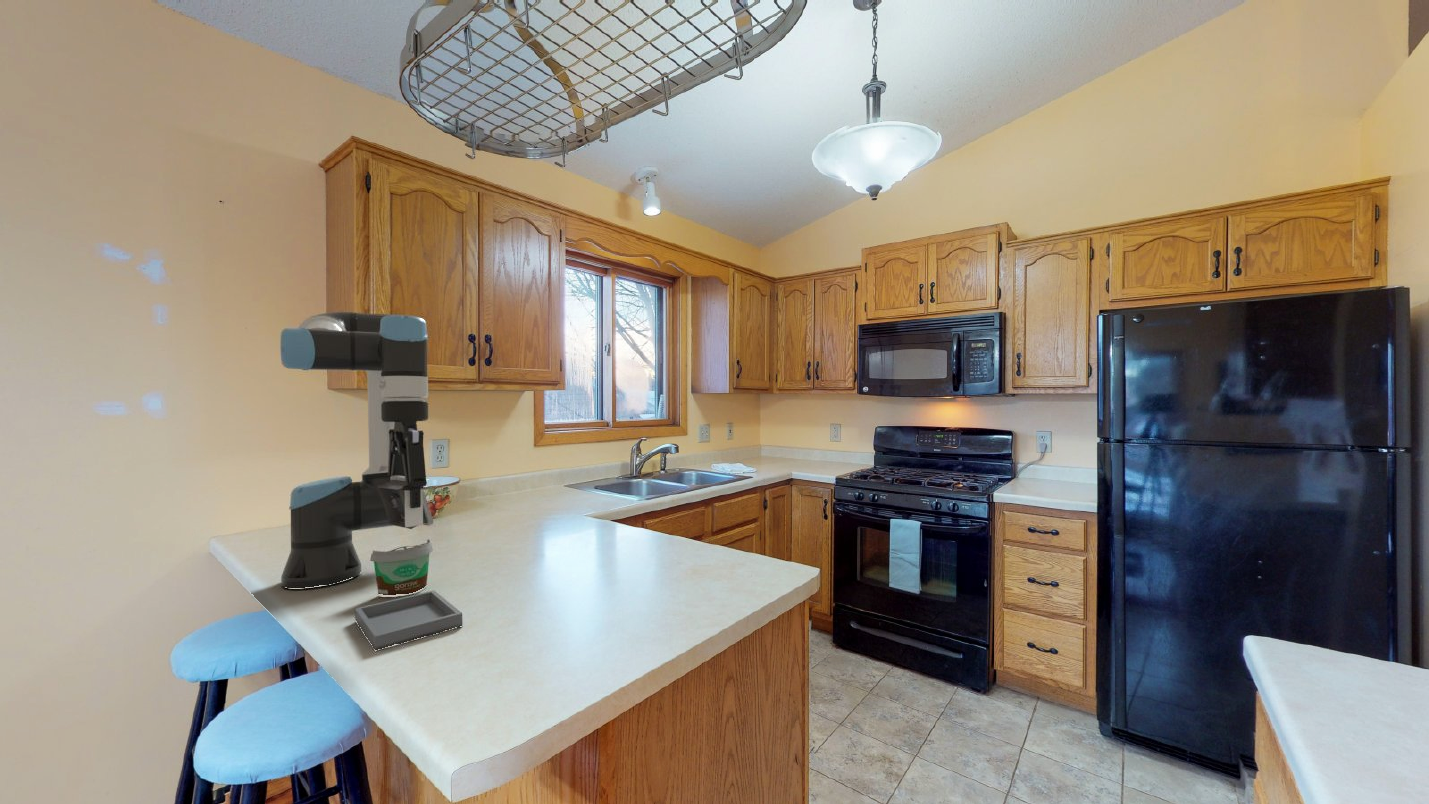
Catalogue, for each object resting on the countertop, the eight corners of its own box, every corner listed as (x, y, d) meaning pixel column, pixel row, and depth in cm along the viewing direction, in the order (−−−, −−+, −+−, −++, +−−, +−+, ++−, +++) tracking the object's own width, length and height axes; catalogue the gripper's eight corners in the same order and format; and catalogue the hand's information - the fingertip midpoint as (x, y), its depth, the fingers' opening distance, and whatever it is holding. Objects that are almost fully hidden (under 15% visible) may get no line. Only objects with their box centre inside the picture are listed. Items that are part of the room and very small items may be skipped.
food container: (382, 604, 108) (382, 555, 108) (370, 598, 112) (369, 550, 112) (443, 587, 118) (443, 542, 118) (430, 582, 122) (430, 538, 122)
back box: (355, 621, 99) (355, 608, 99) (434, 602, 109) (434, 590, 109) (375, 651, 87) (374, 636, 87) (462, 626, 96) (462, 613, 96)
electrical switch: (434, 525, 97) (429, 475, 97) (405, 534, 93) (399, 482, 92) (408, 520, 102) (403, 473, 102) (380, 528, 98) (374, 479, 98)
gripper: (368, 401, 103) (370, 516, 103) (396, 399, 87) (398, 535, 87) (411, 400, 109) (413, 510, 108) (445, 399, 93) (447, 527, 93)
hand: (406, 521), depth 98 cm, fingers closed on electrical switch, 9 cm apart
